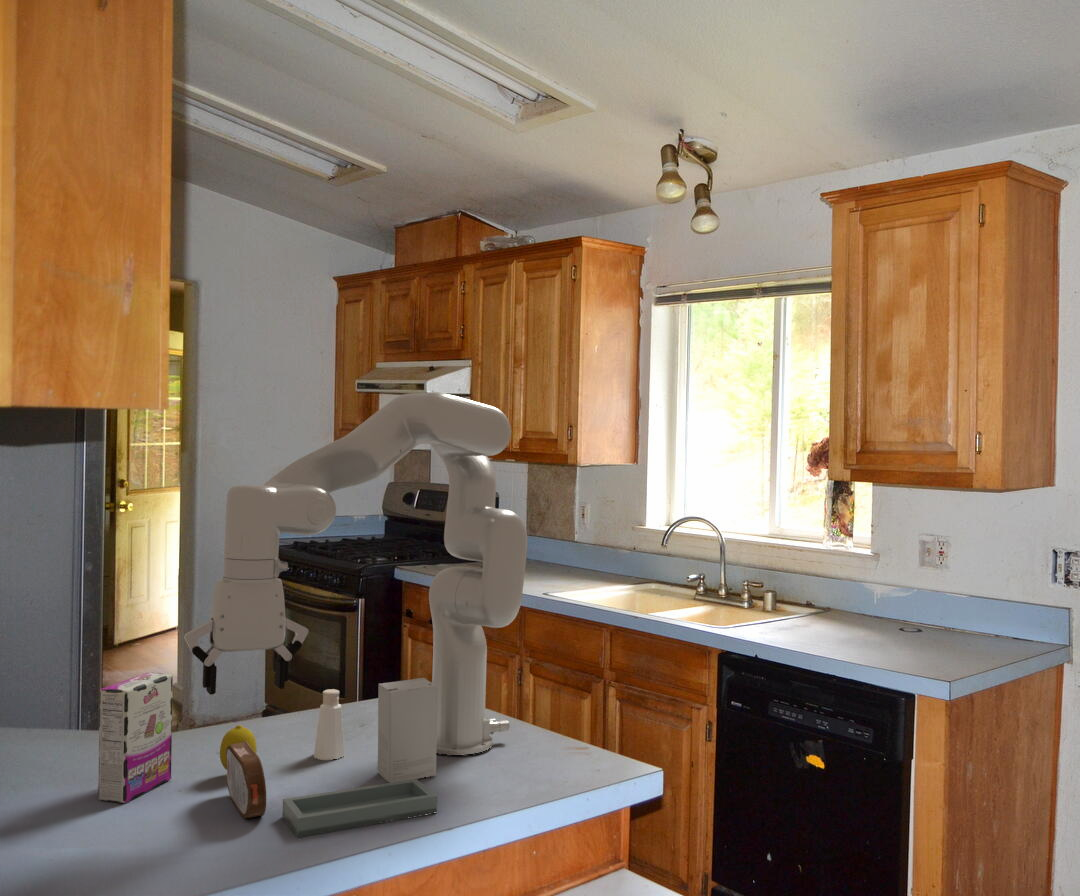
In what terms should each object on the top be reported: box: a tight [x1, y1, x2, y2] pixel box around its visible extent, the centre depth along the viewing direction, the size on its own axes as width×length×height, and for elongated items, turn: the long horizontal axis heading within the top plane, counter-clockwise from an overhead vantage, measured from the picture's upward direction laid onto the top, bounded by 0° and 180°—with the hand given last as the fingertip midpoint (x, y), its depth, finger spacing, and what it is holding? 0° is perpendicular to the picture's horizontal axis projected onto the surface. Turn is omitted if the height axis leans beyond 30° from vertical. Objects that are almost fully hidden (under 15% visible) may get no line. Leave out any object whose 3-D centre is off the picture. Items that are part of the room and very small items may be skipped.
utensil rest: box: [281, 779, 438, 838], centre depth 134 cm, size 20×8×2 cm, turn 119°
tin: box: [226, 741, 267, 819], centre depth 136 cm, size 15×3×8 cm, turn 30°
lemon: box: [219, 724, 258, 771], centre depth 149 cm, size 6×6×8 cm
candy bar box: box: [97, 672, 174, 804], centre depth 142 cm, size 11×5×16 cm, turn 167°
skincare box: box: [377, 677, 438, 783], centre depth 151 cm, size 8×6×15 cm
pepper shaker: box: [313, 688, 345, 761], centre depth 160 cm, size 5×5×11 cm
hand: (245, 689), depth 136 cm, fingers open, 9 cm apart
